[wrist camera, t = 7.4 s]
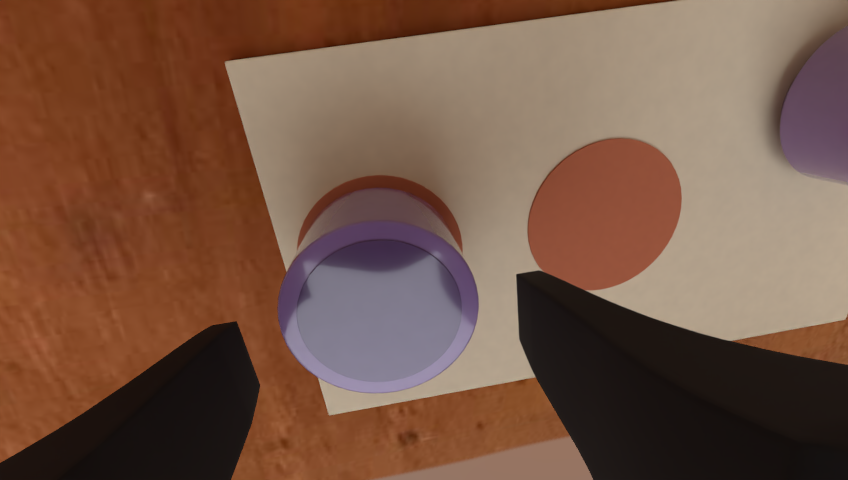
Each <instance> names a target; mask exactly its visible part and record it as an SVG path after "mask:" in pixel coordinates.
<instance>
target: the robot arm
mask: <svg viewBox="0 0 848 480" xmlns="http://www.w3.org/2000/svg"><path fill="white" fill-rule="evenodd" d="M516 283H517V304H518V325H519V340H520V343H521V345H522V347H523V350H524V352H525V355H526V357H527V360H528V362H529V364H530V367H531V369H532V371H533V373H534V375H535V377H536V378H537V380H538V382H539V384H540V385H541V387H542V389H543V391H544V392H545V394H546V396H547V397H548V399H549V401H550V403H551V404H552V406H553V408H554V409H555V411H556V413H557V414H558V416H559V418H560V420H561V421H562V423H563V425H564V426H565V428H566V430H567V431H568V433H569V435H570V436H571V438H572V440H573V442H574V443H575V445H576V447H577V448H578V450H579V452H580V454H581V456H582V458H583V460H584V461H585V463H586V465H587V467H588V469H589V471H590V473H591V475H592V478H593V480H848V365H844V364H839V363H833V362H828V361H822V360H816V359H811V358H805V357H800V356H794V355H790V354H785V353H780V352H775V351H770V350H765V349H761V348H757V347H753V346H748V345H744V344H740V343H736V342H732V341H728V340H723V339H720V338H716V337H712V336H709V335H705V334H701V333H698V332H695V331H691V330H688V329H685V328H682V327H678V326H675V325H672V324H669V323H666V322H663V321H660V320H657V319H654V318H651V317H648V316H646V315H643V314H641V313H638V312H635V311H633V310H630V309H628V308H625V307H622V306H620V305H618V304H615V303H613V302H610V301H608V300H606V299H603V298H601V297H599V296H596V295H594V294H592V293H590V292H588V291H585V290H583V289H581V288H579V287H577V286H574V285H572V284H570V283H568V282H566V281H564V280H561V279H559V278H557V277H555V276H553V275H550V274H548V273H545V272H543V271H540V270H537V271H532V272H526V273H520V274H516ZM259 388H260V384H259V381H258V378H257V376H256V373H255V370H254V367H253V365H252V362H251V359H250V357H249V354H248V351H247V348H246V346H245V343H244V340H243V337H242V335H241V332H240V329H239V327H238V324H237V321H236V322H230V323H224V324H218V325H212V326H210V327H209V328H207V329H205V330H203V331H202V332H200V333H198V334H197V335H195V336H194V337H192V338H191V339H189V340H188V341H186V342H185V343H184V344H182V345H181V346H179V347H178V348H177V349H175V350H174V351H172V352H171V353H170V354H168V355H167V356H165V357H164V358H163V359H161V360H160V361H158V362H157V363H156V364H154V365H153V366H151V367H150V368H149V369H147V370H146V371H144V372H143V373H142V374H140V375H139V376H137V377H136V378H134V379H133V380H132V381H130V382H129V383H127V384H126V385H124V386H123V387H121V388H120V389H118V390H117V391H115V392H114V393H112V394H111V395H109V396H108V397H107V398H105V399H104V400H102V401H101V402H99V403H98V404H96V405H95V406H93V407H92V408H90V409H89V410H87V411H86V412H84V413H83V414H81V415H80V416H78V417H77V418H75V419H73V420H72V421H70V422H69V423H67V424H65V425H64V426H62V427H61V428H59V429H57V430H56V431H54V432H53V433H51V434H49V435H47V436H46V437H44V438H42V439H41V440H39V441H37V442H36V443H34V444H32V445H31V446H29V447H27V448H26V449H24V450H22V451H21V452H19V453H17V454H15V455H14V456H12V457H10V458H8V459H7V460H5V461H3V462H1V463H0V480H231V478H232V475H233V473H234V470H235V467H236V465H237V462H238V459H239V457H240V454H241V451H242V449H243V446H244V443H245V440H246V438H247V435H248V432H249V429H250V427H251V424H252V420H253V416H254V412H255V407H256V403H257V398H258V393H259Z"/></svg>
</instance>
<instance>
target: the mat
mask: <svg viewBox="0 0 848 480" xmlns="http://www.w3.org/2000/svg"><path fill="white" fill-rule="evenodd" d="M847 25H848V0H676V1H668V2H661V3H654V4H646V5H639V6H631V7H624V8H616V9H609V10H602V11H594V12H587V13H579V14H572V15H564V16H557V17H550V18H542V19H535V20H527V21H520V22H512V23H505V24H498V25H490V26H483V27H475V28H468V29H460V30H453V31H445V32H438V33H431V34H423V35H416V36H408V37H401V38H393V39H386V40H379V41H371V42H364V43H356V44H349V45H341V46H334V47H327V48H319V49H312V50H304V51H297V52H289V53H282V54H275V55H267V56H260V57H252V58H245V59H237V60H230V61H225V66H226V69H227V72H228V76H229V79H230V83H231V86H232V89H233V93H234V96H235V99H236V103H237V106H238V110H239V113H240V116H241V120H242V123H243V127H244V130H245V133H246V137H247V140H248V143H249V147H250V150H251V154H252V157H253V160H254V164H255V167H256V170H257V174H258V177H259V181H260V184H261V187H262V191H263V194H264V197H265V201H266V204H267V208H268V211H269V214H270V218H271V221H272V224H273V228H274V231H275V235H276V238H277V241H278V245H279V248H280V251H281V255H282V258H283V262H284V265H285V268H286V272H287V270H288V268H289V266H290V264H291V262H292V260H293V258H294V256H295V254H296V252H297V250H298V248H299V246H300V244H301V242H302V240H303V237H304V235H305V233H306V231H307V229H308V228H309V226H310V224H311V223H312V221H313V220H314V218H315V217H316V216H317V215H318V213H319V212H320V211H322V210H323V209H324V208H325V207H326V206H327V205H328V204H330V203H331V202H333V201H334V200H336V199H338V198H339V197H341V196H343V195H345V194H348V193H351V192H354V191H357V190H362V189H367V188H391V189H397V190H401V191H404V192H408V193H410V194H413V195H415V196H417V197H419V198H421V199H422V200H424V201H426V202H427V203H428V204H430V205H431V206H432V207H433V208H435V209H436V210H437V211H438V213H439V214H440V215H441V216H442V217H443V219H444V220H445V221H446V223H447V224H448V226H449V228H450V230H451V232H452V234H453V236H454V238H455V240H456V242H457V244H458V246H459V248H460V250H461V252H462V254H463V256H464V258H465V260H466V262H467V264H468V266H469V268H470V270H471V272H472V274H473V276H474V279H475V282H476V285H477V290H478V296H479V311H478V318H477V322H476V326H475V329H474V332H473V334H472V337H471V339H470V341H469V343H468V344H467V346H466V348H465V349H464V351H463V352H462V353H461V355H460V356H459V357H458V358H457V359H456V360H455V361H454V362H453V363H452V364H451V365H450V366H449V367H448V368H447V369H446V370H444V371H443V372H442V373H440V374H439V375H437V376H436V377H434V378H432V379H431V380H429V381H427V382H425V383H422V384H420V385H418V386H415V387H412V388H409V389H405V390H401V391H397V392H390V393H360V392H355V391H349V390H346V389H343V388H339V387H336V386H334V385H332V384H329V383H327V382H325V381H323V380H322V379H320V378H318V380H319V383H320V387H321V390H322V393H323V397H324V400H325V404H326V407H327V410H328V414H329V415H334V414H339V413H345V412H350V411H356V410H361V409H366V408H372V407H377V406H383V405H388V404H393V403H399V402H404V401H409V400H415V399H420V398H426V397H431V396H436V395H442V394H447V393H453V392H458V391H463V390H469V389H474V388H480V387H485V386H490V385H496V384H501V383H506V382H512V381H517V380H523V379H528V378H533V377H535V375H534V373H533V371H532V369H531V367H530V364H529V362H528V360H527V357H526V355H525V352H524V350H523V347H522V345H521V343H520V340H519V325H518V304H517V283H516V274H520V273H526V272H532V271H537V270H540V271H543V272H545V273H548V274H550V275H553V276H555V277H557V278H559V279H561V280H564V281H566V282H568V283H570V284H572V285H574V286H577V287H579V288H581V289H583V290H585V291H588V292H590V293H592V294H594V295H596V296H599V297H601V298H603V299H606V300H608V301H610V302H613V303H615V304H618V305H620V306H622V307H625V308H628V309H630V310H633V311H635V312H638V313H641V314H643V315H646V316H648V317H651V318H654V319H657V320H660V321H663V322H666V323H669V324H672V325H675V326H678V327H682V328H685V329H688V330H691V331H695V332H698V333H701V334H705V335H709V336H712V337H716V338H720V339H723V340H728V341H733V340H738V339H744V338H749V337H754V336H760V335H765V334H770V333H776V332H781V331H787V330H792V329H797V328H803V327H808V326H814V325H819V324H824V323H830V322H835V321H841V320H845V319H846V317H847V314H848V186H847V185H842V184H837V183H833V182H828V181H823V180H819V179H814V178H810V177H807V176H805V175H802V174H801V173H799V172H798V171H796V170H795V169H794V168H793V167H792V166H791V165H790V164H789V162H788V161H787V159H786V157H785V155H784V153H783V150H782V147H781V142H780V115H781V109H782V105H783V101H784V99H785V96H786V94H787V91H788V89H789V87H790V85H791V84H792V82H793V80H794V79H795V77H796V76H797V74H798V73H799V71H800V70H801V68H802V67H803V66H804V64H805V63H806V61H807V60H808V59H809V58H810V56H811V55H812V54H813V53H814V52H815V51H816V50H817V49H818V48H819V47H820V46H821V45H822V44H823V43H824V42H825V41H826V40H827V39H829V38H830V37H831V36H832V35H834V34H835V33H836V32H838V31H839V30H841V29H842V28H844V27H845V26H847Z"/></svg>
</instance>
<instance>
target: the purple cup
mask: <svg viewBox="0 0 848 480" xmlns="http://www.w3.org/2000/svg"><path fill="white" fill-rule="evenodd" d="M780 142H781V147H782V150H783V153H784V155H785V157H786V159H787V161H788V162H789V164H790V165H791V166H792V167H793V168H794V169H795V170H796V171H798V172H799V173H801V174H802V175H805V176H807V177H810V178H814V179H819V180H823V181H828V182H833V183H837V184H842V185H847V186H848V25H847V26H845V27H844V28H842V29H841V30H839V31H838V32H836V33H835V34H834V35H832V36H831V37H830V38H829V39H827V40H826V41H825V42H824V43H823V44H822V45H821V46H820V47H819V48H818V49H817V50H816V51H815V52H814V53H813V54H812V55H811V56H810V58H809V59H808V60H807V61H806V63H805V64H804V66H803V67H802V68H801V70H800V71H799V73H798V74H797V76H796V77H795V79H794V80H793V82H792V84H791V85H790V87H789V89H788V91H787V94H786V96H785V99H784V101H783V105H782V109H781V115H780Z"/></svg>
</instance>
